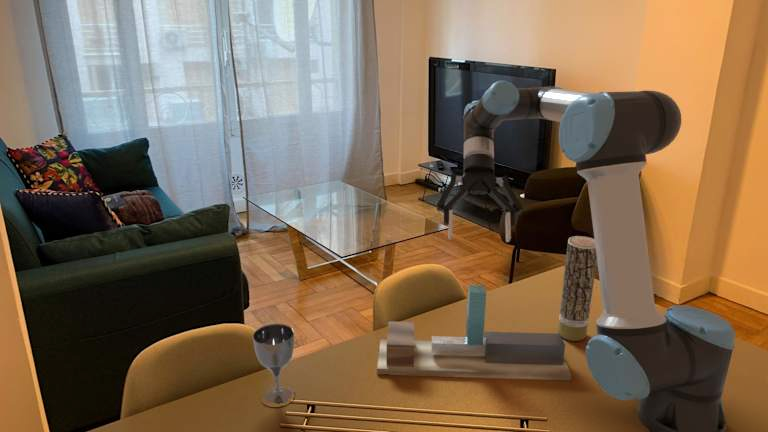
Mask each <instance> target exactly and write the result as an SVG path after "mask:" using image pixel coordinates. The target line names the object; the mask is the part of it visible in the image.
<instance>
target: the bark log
mask: <svg viewBox="0 0 768 432" xmlns="http://www.w3.org/2000/svg"><path fill="white" fill-rule="evenodd" d="M564 264H565V266H564V271H563V272H564V274H563V282H562V289H561V300H560V308H559V316H558V317H559V318H558V327H557V334H560V335H561V337H562V339H565V340H567V341H571V342H579V341H583V340H584V339H586V337H587V333H588V328H589V327H588V325H589V319H590V311H591V304H592V299H593V298H592V296H593V289H594V288H593V287H594V282H595V275H596V268H597V255H596V247H595V239H594V238H592V237H590V236H585V235H584V236H582V235H575V236H571V237H569V238H568V239H567V248H566V256H565V263H564Z"/></svg>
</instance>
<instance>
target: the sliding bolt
mask: <svg viewBox="0 0 768 432" xmlns="http://www.w3.org/2000/svg"><path fill="white" fill-rule="evenodd" d="M467 286H468V288H467V291H468V292H467V305H466V307H467V309H466V327H465V336H445V335H443V336H439V335H438V336H436V335H431V341H432V342H431V352H432V355H454V356H486V340H485V338H484V332H485V319H486V318H485V317H486V305H487V290H486V286H485V285H479V284H478V285H477V284H476V285H475V284H468V285H467Z"/></svg>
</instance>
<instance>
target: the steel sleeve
mask: <svg viewBox="0 0 768 432" xmlns="http://www.w3.org/2000/svg"><path fill="white" fill-rule="evenodd" d="M483 338H485V340H486V356H484V358H485V363H506V364H538V365H563V359H565V349H566V344H565V342H564V340H563V337H561V335H560V334H559V333H550V332H549V333H547V332H546V333H545V332H513V331H512V332H511V331H484V335H483Z"/></svg>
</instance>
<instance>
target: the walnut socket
mask: <svg viewBox="0 0 768 432" xmlns="http://www.w3.org/2000/svg"><path fill="white" fill-rule="evenodd" d="M387 324H388V325H387V335H386V339H387V366H395V367H414V340H415V322H414V321H388V323H387Z"/></svg>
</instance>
